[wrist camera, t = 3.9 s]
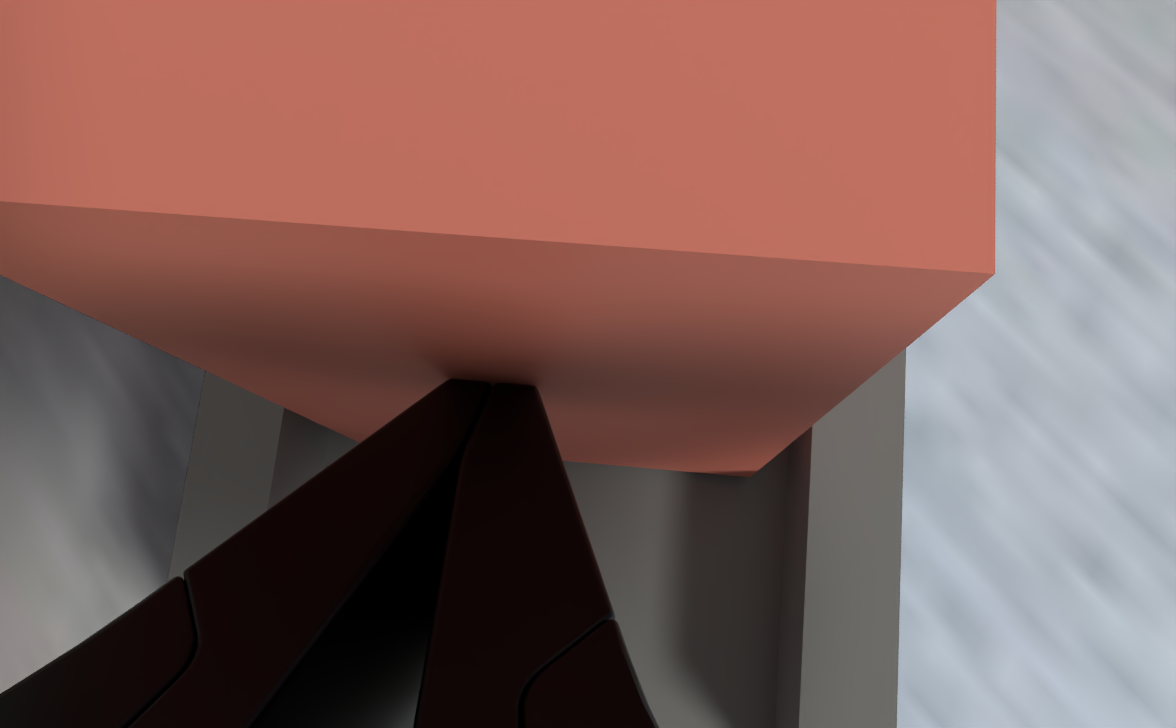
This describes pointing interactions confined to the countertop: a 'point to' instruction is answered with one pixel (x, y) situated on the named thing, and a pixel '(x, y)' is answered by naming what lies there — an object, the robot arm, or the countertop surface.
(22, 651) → the countertop surface
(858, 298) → the red plug
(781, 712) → the grey slotted holder tray
